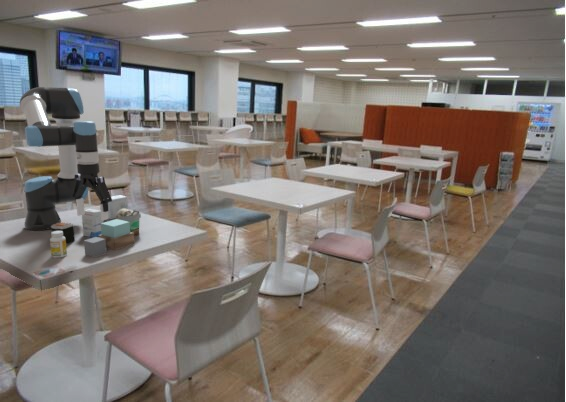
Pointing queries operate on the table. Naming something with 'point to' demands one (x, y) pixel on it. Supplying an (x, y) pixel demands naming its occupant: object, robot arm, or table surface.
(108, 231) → the tower top
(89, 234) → the ink box
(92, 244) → the cube
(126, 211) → the skull
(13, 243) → the table surface
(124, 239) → the tower base
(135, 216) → the food container
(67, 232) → the sushi
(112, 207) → the skincare box
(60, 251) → the supplement bottle
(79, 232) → the table surface
